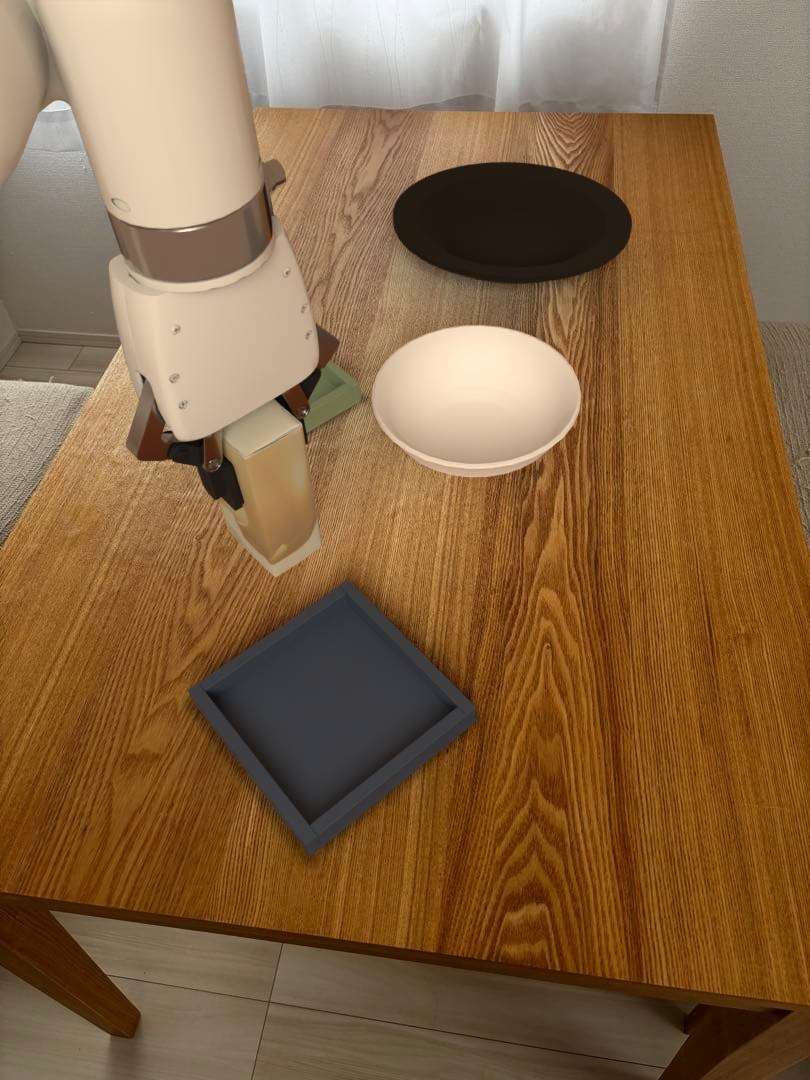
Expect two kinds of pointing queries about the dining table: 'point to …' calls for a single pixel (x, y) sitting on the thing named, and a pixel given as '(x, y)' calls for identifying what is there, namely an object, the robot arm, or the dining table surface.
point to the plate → (512, 222)
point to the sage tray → (331, 396)
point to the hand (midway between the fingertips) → (259, 474)
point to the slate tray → (331, 713)
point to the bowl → (476, 399)
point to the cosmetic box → (272, 488)
